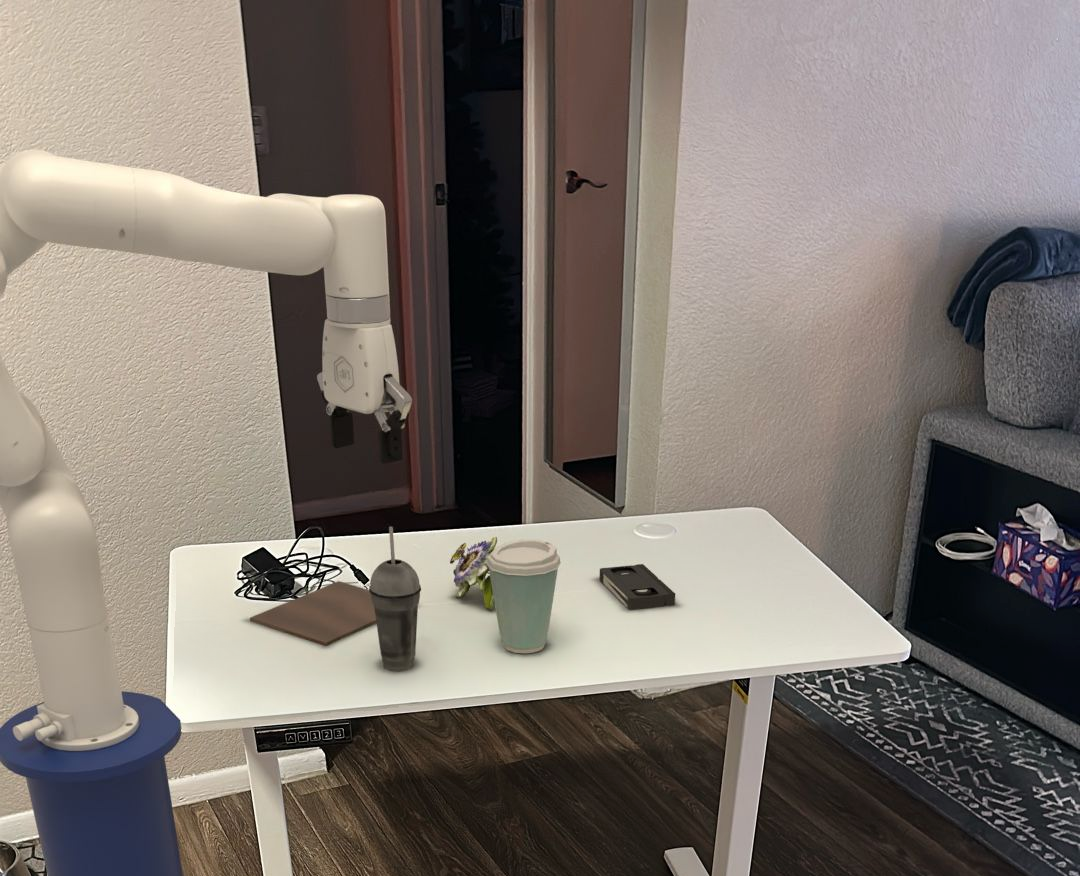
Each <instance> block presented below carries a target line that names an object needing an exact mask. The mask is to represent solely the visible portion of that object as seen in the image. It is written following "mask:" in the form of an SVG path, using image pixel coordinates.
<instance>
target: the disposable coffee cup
mask: <svg viewBox="0 0 1080 876" xmlns="http://www.w3.org/2000/svg"><path fill="white" fill-rule="evenodd" d="M557 551H558V550H557V547H556V546H555V545H554V544H553V543H551V542H550V541H546V540H542V539H537V538H535V539H519V540H514V541H508V542H505V543H502V544H501V545H498V546H495V548H494V550H493V551H492V553H491V554H490V555H489V557H488V558H487V565H488V567H489V571H488V572H489V573H490V574H489V575H490V579H491V584H492V590H493V596H494V607H495V615H496V619H497V625H498V631H499V637H500V638H499V639H500V642H501V643H502V646H503V648H504V649H505V650H506V651H508V652H511V653H515V654H532V653H537V652H539V651H541V650H543V649H544V647H545V646H546V643H547V641H548V635H549V628H550V622H551V616H552V611H553V610H552V609H553V603H554V598H555V597H554V596H555V590H556V585H557V584H556V583H557V577H558V572H559V571H558V569H559V567H560V565H561V556H560V555H559V554H558V552H557Z"/></svg>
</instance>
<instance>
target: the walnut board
mask: <svg viewBox="0 0 1080 876" xmlns="http://www.w3.org/2000/svg"><path fill="white" fill-rule="evenodd" d="M249 621H250V622H253V623H255V624H258V625H261V626H264V627H268V628H271V629H273V630H274V629H275V630H277V631H281V632H283V633H286V634H288V635H292V636H295V637H298V638H301V639H304V640H307V641H310V642H313V643H316V644H319V645H323V646H325V647H326V646H329V645H331V644H333V643H335V642H338V641H340V640H342V639H345V638H346V637H349V636H350V635H351V636H352V635H353V634H355V633H357V632H359V631H361V630H363V629H366V628H368V627H370V626H372V625H376V624H377V623H376V616H375V609H374V605H373V603H372V599H371V593H370V592H369V589H366V588H363V587H359V586H356V585H353V584H349V583H346V582H343V581H339V580H338V581H335V582H333V583H331V584H328V585H326V586H324V587H321V588H319V589H316V590H314V591H311V592H309V593H306V594H304V595H302V596H299V597H297V598H295V599H292V600H290V601H288V602H285V603H282V604H280V605H278V606H275V607H273V608H270V609H268V610H265V611H262V612H261V613H258V614H256V615H253V616H251V617H249Z"/></svg>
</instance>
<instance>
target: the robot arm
mask: <svg viewBox="0 0 1080 876" xmlns="http://www.w3.org/2000/svg"><path fill="white" fill-rule="evenodd" d="M386 219H387V218H386V209H385V206H384V203H383V202H382V201H381V200H380V199H379V198H378V197H376V196H375V195H374V196H373V195H367V194H358V193H357V194H356V193H355V194H354V193H353V194H347V193H346V194H335V195H330V196H327V197H322V196H308V195H301V194H293V193H285V192H284V193H273V194H270V195H267V196H262V195H261V196H260V195H254V194H249V193H243V192H236V191H231V190H226V189H225V190H224V189H221V188H217V187H213V186H210V185H205V184H203V183H199V182H196V181H193V180H191V179H188V178H186V177H184V176H180V175H177V174H173V173H170V172H165V171H161V170H154V169H147V168H140V167H133V166H126V165H125V166H124V165H119V164H111V163H104V162H99V161H98V162H97V161H91V160H84V159H79V158H72V157H66V156H59V155H56V154H54V153H52V152H50V151H46V150H43V149H36V148H33V149H25V150H22V151H20V152H17V153H15V154H14V155H13V156H12V157H10V158H9V159H8V160H6V161H5V162H4V163H3V164H2V165H1V166H0V299H1V298H2V296H3V294H4V293H5V291H6V288H7V284H8V277H9V276H10V275H11V274H12V273H13V272H15V271H16V270H17V269H18V268H19V267H21V266H22V265H24V263H26V262H27V261H28V260H29V259H30V258H31V257H33V256H34V255H35V254H36V253H37V252H38V251H40V250H41V249H42V248H43V247H45V245H47V244H48V243H51V244H57V245H65V246H72V247H80V248H87V249H99V250H107V251H116V252H123V253H131V254H138V255H147V256H153V257H161V258H168V259H170V260H171V259H172V260H175V261H182V262H184V261H185V262H193V263H201V264H202V263H203V264H211V265H216V266H222V267H229V268H235V269H241V270H247V271H248V270H250V271H256V272H264V273H272V274H281V275H290V276H307V275H312V274H314V273H316V272H318V271H320V270H322V269H323V275H324V278H323V279H324V288H325V289H324V290H325V299H326V300H325V303H326V304H325V305H326V317H327V318H326V319H325V320H324V325H323V334H322V347H321V348H322V352H321V353H322V354H321V355H322V357H321V359H322V361H321V363H322V371H321V372H319V373H318V374H317V375H316V380H317V382H318V386H319V388H320V391H321V398H322V400H323V402H324V403H325V405H326V409H325V411H326V414H327V415H328V416H329V424H330V425H329V426H330V437H331V446H332V448H334V449H340V448H344V447H348V446H352V445H354V444H355V430H354V417H353V416H354V415H353V412H357V413H361V414H365V415H370V414H374V416H375V418H376V421H378V424H379V426H380V428H381V430H378V448H379V449H378V450H379V452H378V453H379V461H380V463H381V464H383V465H387V464H391V463H394V462H399V461H402V459H403V456H404V455H403V436H402V435H403V433H402V429H404V428H405V426H406V424H405V423H406V421H407V420H408V419H409V415H410V414H409V413H410V409H411V407H412V403H413V398H412V395H410V394H409V392H407V391H406V389H405V388H404V387H403V386H402V385H401V384H400V372H399V362H398V354H397V347H396V341H395V336H394V335H395V334H394V331H393V326H392V324H391V307H390V305H391V304H390V285H389V264H388V262H389V261H388V243H387V222H386V221H387V220H386ZM351 411H353V412H351ZM388 412H389V417H387V415H386V413H388ZM74 477H75V476H74V475H73V474H72V471H71V469H70V468H69V466H68V464H67V462H66V460H65V459H64V456H63V455H62V453H61V451H60V449H59V448H58V446H57V443H56V442H55V439H54V437H53V436H52V434H51V432H50V430H49V428H48V426H47V425H46V423H45V421H44V419H43V417H42V415H41V413H40V412H39V410H38V409H37V406H35V404H34V403H33V401H32V400H31V399H30V398H29V397H28V396H27V395H26V394H24V393H23V392H21V391H20V390H19V389H18V387H17V386H16V383H15V381H14V380H13V378H12V375H10V373H9V371H8V369H7V367H6V364H5V362H4V360H3V358H2V356H1V355H0V508H1V509H2V511H3V513H4V515H5V523H6V528H7V534H8V540H9V545H10V550H11V555H12V559H13V563H14V566H15V571H16V576H17V580H18V585H19V590H20V594H21V599H22V604H23V610H24V615H25V620H26V624H27V625H28V631H29V636H30V640H31V646H32V651H33V655H34V661H35V665H36V670H37V675H38V680H39V684H40V689H41V694H42V699H43V702H44V703H43V704H41V705H38V706H37V710H38V715H35V716H34V717H33V720H31V721H28V722H24V723H22V724H19V725H17V726H15V727H13V733H14V735H15V737H16V738H17V739H18V740H19V741H22V740H24V739H27V738H29V737H31V736H34V734H35V736H36V738H37V739H38V740H39V741H41V742H42V743H43V744H45V745H46V746H48V747H51V748H53V749H58V750H63V751H90V750H97V749H101V748H106V747H109V746H112V745H115V744H118V743H120V742H122V741H124V740H126V739H127V738H129V737H130V736H132V735H133V734H134V733H135V732H136V730H137V729H138V727H139V718H138V714H137V712H136V711H135V710H134V709H132V708H131V707H129V706H127V705H124V704H123V698H122V692H121V691H122V686H121V681H120V675H119V670H118V664H117V658H116V652H115V646H114V639H113V635H112V629H111V628H112V627H111V622H110V616H109V612H108V607H107V606H108V605H107V601H106V595H105V589H104V581H103V576H102V569H101V568H102V567H101V560H100V549H99V543H98V536H97V532H96V527H95V524H94V520H93V518H92V515H91V512H90V509H89V507H88V505H87V502H86V500H85V497H84V495H83V493H82V489H80V487H79V485H78V482H77V481H76V479H75V478H74Z"/></svg>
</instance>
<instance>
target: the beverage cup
mask: <svg viewBox="0 0 1080 876" xmlns="http://www.w3.org/2000/svg"><path fill="white" fill-rule="evenodd" d="M388 533H389V545H390V546H389V548H390V549H389V550H390V559H388V560H385V561H383V562H381V563H380V564H379V565H377V567H376V568H375V569H374V570H373V572H372V574H371V577H370V581H369V588H368V590H369V592H370V593H371V599H372V603H373V605H374V609H375V616H376V623H375V624H376V629H377V637H378V644H379V651H380V657H381V661H382V667H383V668H384V669H385V670H387V671H390V672H405V671H408V670H411V669H413V668H414V666H415V659H416V650H417V649H416V647H417V627H418V613H419V612H418V610H419V609H418V608H419V604H420V600H421V599H420V598H421V591H422V586H421V584H420V578H419V575H418V573H417V572H416V570H415V569H414V568H413V566H412V565H410V563H408V562H406V561H404V560H402V559H398V558H397V559H396V556H395V539H394V527H393V526H389V527H388Z"/></svg>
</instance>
